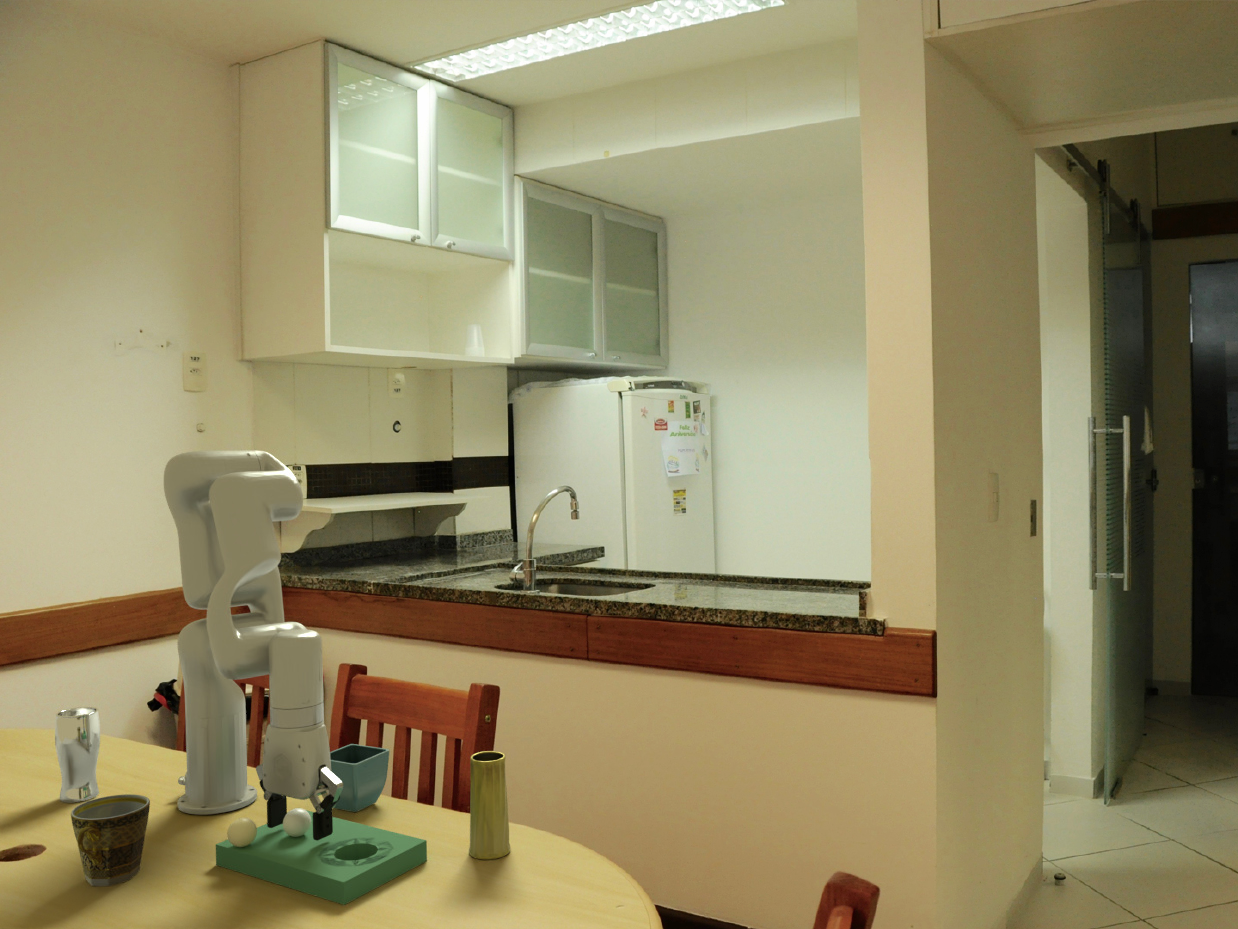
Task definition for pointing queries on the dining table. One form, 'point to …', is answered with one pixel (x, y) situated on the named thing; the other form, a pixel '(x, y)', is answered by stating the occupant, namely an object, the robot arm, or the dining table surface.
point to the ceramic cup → (111, 837)
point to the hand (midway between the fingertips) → (299, 831)
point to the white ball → (297, 822)
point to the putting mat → (326, 859)
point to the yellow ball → (242, 832)
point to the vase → (488, 806)
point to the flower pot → (359, 775)
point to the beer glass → (78, 752)
